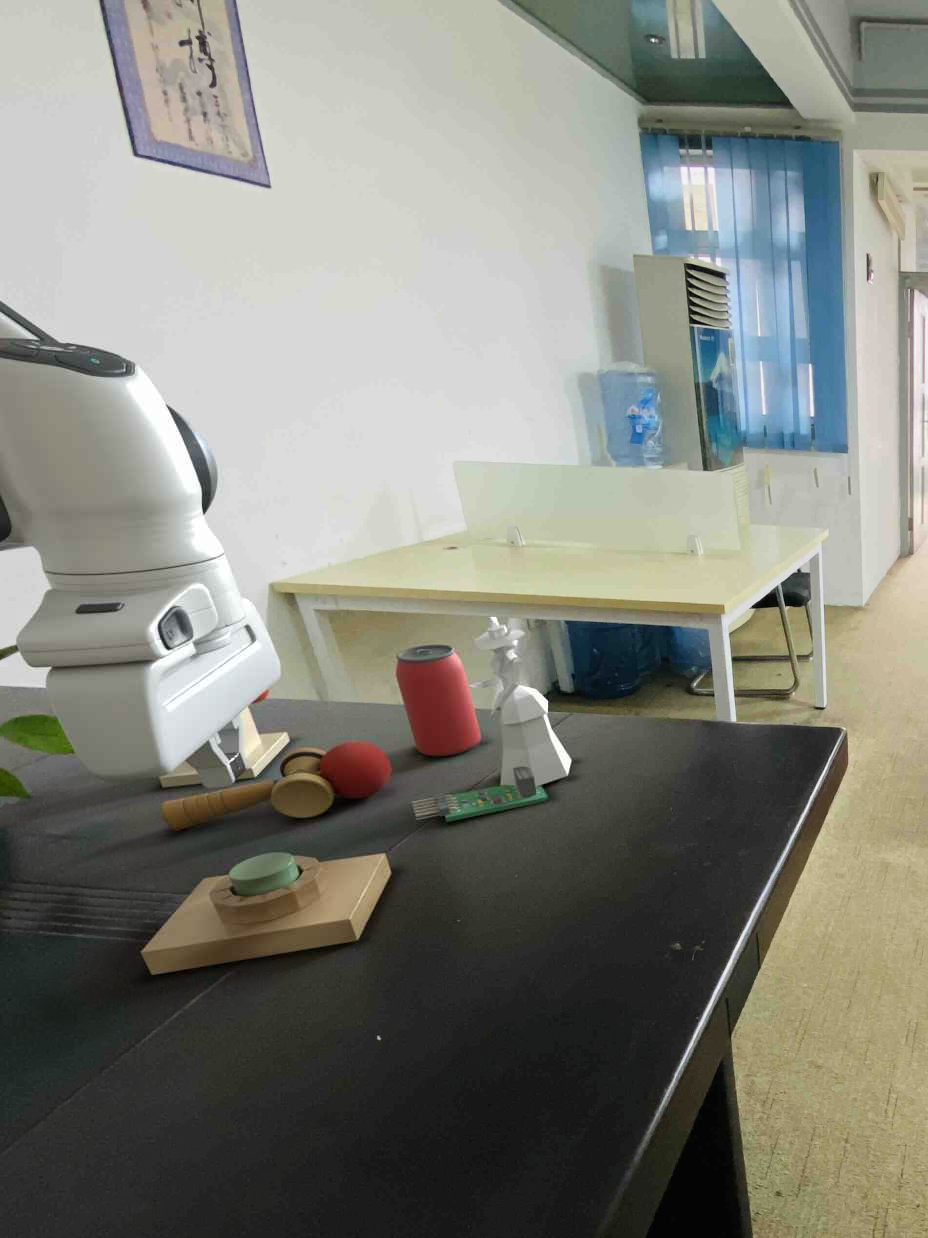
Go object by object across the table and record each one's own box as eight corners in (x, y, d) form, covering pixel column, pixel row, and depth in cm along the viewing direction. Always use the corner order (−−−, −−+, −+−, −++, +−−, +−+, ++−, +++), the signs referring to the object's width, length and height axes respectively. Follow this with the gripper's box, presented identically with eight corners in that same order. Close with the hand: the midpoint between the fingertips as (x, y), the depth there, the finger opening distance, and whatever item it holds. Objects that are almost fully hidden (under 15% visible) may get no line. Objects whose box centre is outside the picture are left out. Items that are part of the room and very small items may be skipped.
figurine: (484, 779, 89) (442, 621, 82) (551, 754, 96) (518, 605, 89) (521, 794, 86) (481, 630, 79) (589, 767, 92) (557, 613, 86)
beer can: (465, 731, 101) (442, 639, 96) (493, 744, 98) (470, 650, 93) (407, 748, 96) (379, 652, 91) (434, 764, 93) (406, 665, 88)
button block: (151, 975, 60) (129, 932, 59) (213, 899, 69) (195, 860, 67) (357, 941, 65) (343, 900, 63) (391, 873, 73) (379, 835, 71)
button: (227, 902, 63) (218, 883, 62) (248, 874, 66) (241, 856, 66) (289, 893, 64) (282, 874, 63) (307, 866, 68) (300, 848, 67)
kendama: (174, 863, 75) (396, 795, 83) (138, 802, 73) (369, 739, 81) (199, 837, 82) (403, 777, 90) (167, 781, 80) (379, 724, 88)
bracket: (206, 748, 94) (164, 644, 89) (290, 740, 97) (253, 638, 91) (162, 787, 86) (112, 674, 80) (255, 777, 88) (212, 667, 83)
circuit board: (412, 803, 78) (407, 783, 82) (418, 831, 80) (413, 810, 83) (544, 778, 85) (534, 760, 89) (548, 804, 86) (538, 785, 90)
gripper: (173, 570, 63) (236, 730, 69) (-7, 651, 46) (97, 855, 52) (272, 566, 65) (325, 722, 71) (134, 642, 48) (219, 839, 54)
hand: (228, 779), depth 61 cm, fingers closed
